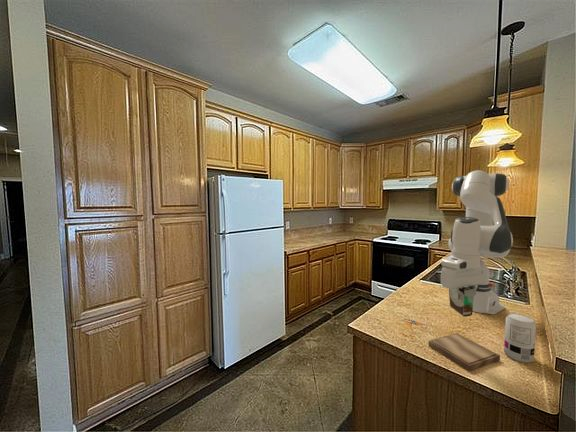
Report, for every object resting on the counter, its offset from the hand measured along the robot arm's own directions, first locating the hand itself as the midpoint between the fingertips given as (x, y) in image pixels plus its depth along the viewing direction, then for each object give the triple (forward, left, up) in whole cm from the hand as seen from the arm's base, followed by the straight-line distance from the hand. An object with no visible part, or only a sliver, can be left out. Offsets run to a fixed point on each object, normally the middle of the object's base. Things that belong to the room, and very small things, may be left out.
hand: (463, 296), depth 94 cm
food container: (-1, 0, -6) cm, 6 cm away
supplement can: (-17, +9, -22) cm, 29 cm away
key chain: (-1, -22, -22) cm, 31 cm away
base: (0, 0, -22) cm, 22 cm away
